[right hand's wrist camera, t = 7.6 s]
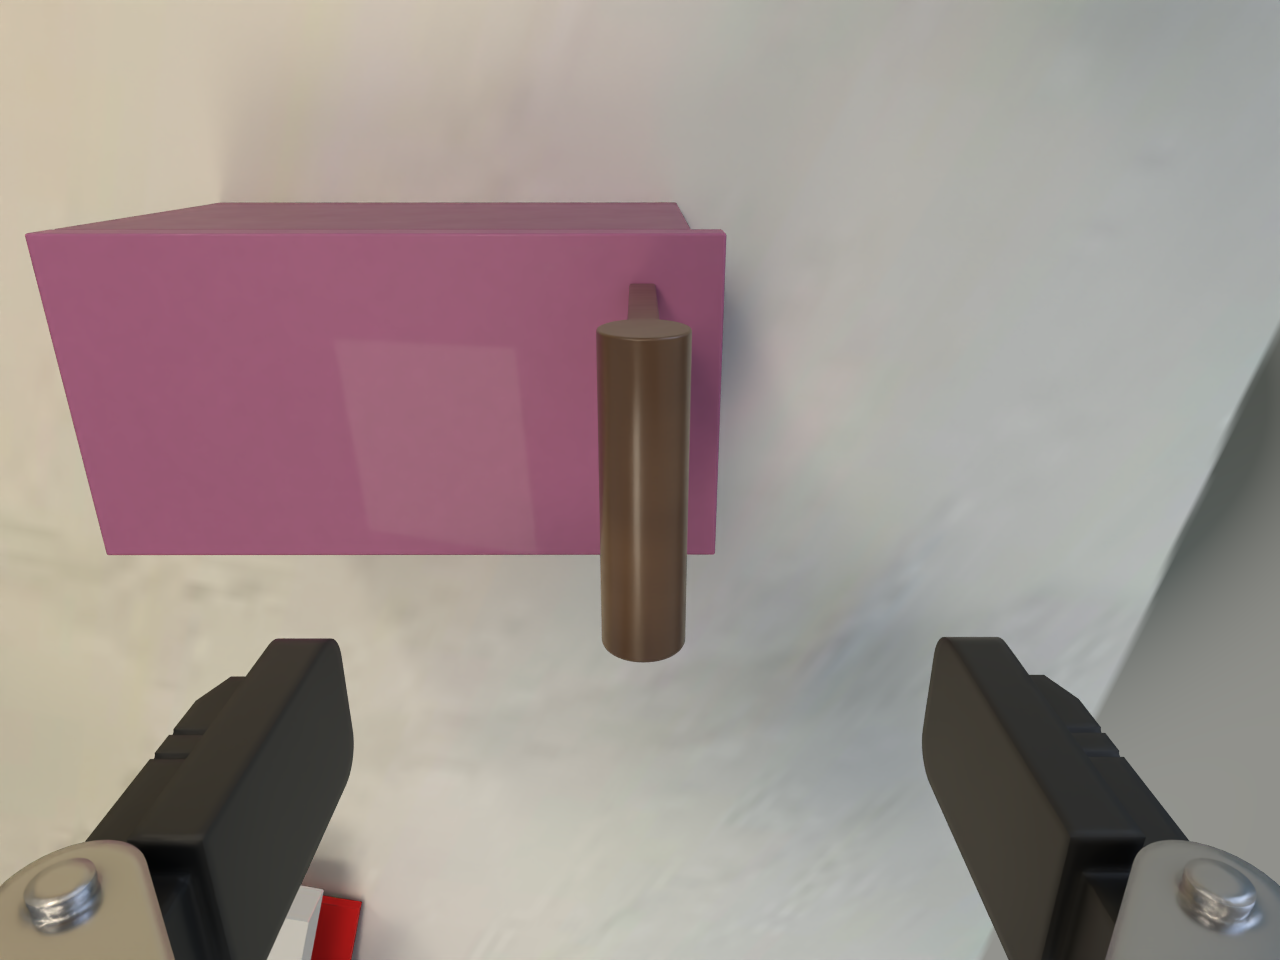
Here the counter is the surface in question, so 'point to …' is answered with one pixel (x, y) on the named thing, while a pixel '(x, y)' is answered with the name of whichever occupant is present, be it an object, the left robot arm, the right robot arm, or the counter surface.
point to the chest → (405, 217)
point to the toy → (317, 928)
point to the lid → (402, 396)
